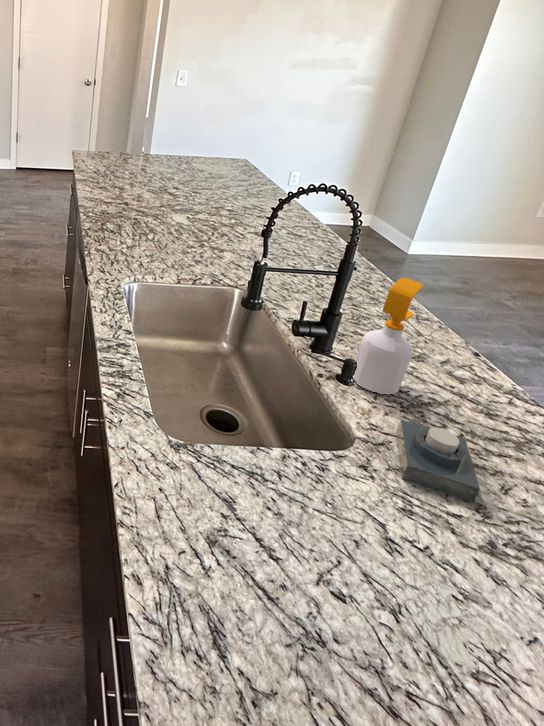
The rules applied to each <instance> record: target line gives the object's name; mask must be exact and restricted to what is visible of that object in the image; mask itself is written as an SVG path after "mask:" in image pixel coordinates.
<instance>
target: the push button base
mask: <svg viewBox="0 0 544 726" xmlns="http://www.w3.org/2000/svg"><path fill="white" fill-rule="evenodd" d="M431 428H432V427H429V426H425V425H422V424H418V423H415V422H411V421H408V420H406V419H405V420H404V419H401V418H400V420H399V423H398V426H397V428H396V430H395V437H396V436H397V438H396V446H397V445H398V446H397V453H398V460H399V468H400V477H401V480H403V481H406V482H409V483H412V484H416V485H418V486H420V487H424V488H427V489H430V490H432V491H436V492H439V493H441V494H445V495H448V496H451V497H454V498H457V499H460V500H463V501H466V502H468V503H472V504H473V503H474V502H475V500H476V499H477V496H478V494H479V492H480V490H481V488H480V487H481V486H480V484H479V480H478V477H477V474H476V471H475V468H474V464H473V463H474V462H473V460H472V457H471V453H470V450H469V447H468V443H467V439H466V437H462V436H459V435H455V436H456V437H457V438H458V439H459V442H460V443H459V445H458V448H457V450H456V452H455V453H454V454H445V453H442V452H439V451H437V450H435V449H434V448H432V447H430V446H429V445H428V444H427V443H426V441H425V438H426V436H427V433H428V431H429V429H431Z"/></svg>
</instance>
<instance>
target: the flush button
mask: <svg viewBox="0 0 544 726" xmlns="http://www.w3.org/2000/svg"><path fill="white" fill-rule="evenodd" d="M430 428H431V429H429V431H428V433H427V436H426V438H425V441H426V443H427V444H428V445H429V446H430V447H432V448H434V449H435V450H437V451H439V452H442V453H445V454H454V453H455V452H456V450H457V448H458V445H459V443H460V442H459V439H458V438H457V437H456V436H457V435H456V434H454V433H452V432H451V431H449V430H447V429H445V428H441V427H430Z"/></svg>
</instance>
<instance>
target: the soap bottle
mask: <svg viewBox="0 0 544 726" xmlns="http://www.w3.org/2000/svg"><path fill="white" fill-rule="evenodd" d="M423 288H424V284H422V283H421V282H418V281H415V280H413V279H410V278H407V277H400V278H399V279H398V280H397V281H396V282H395V283H394V284H392V285H391V287H390V289H389V291H388V293H387V296H386V299H385V301H384V304H383V308H382V312H383V313H385V314H388V315H389V317H390V318H391V319H387V320H386V321H385V322H384V325H383V328H382V329H374V330H370V331H367V332H366V333H365V334H364V335H363V337H362V340H361V343H360V346H359V349H358V352H357V354H356V358H355V361H356V362H357V369H356V371H355V377H354V379H355V381H356V382H357V383H358V384H360V385H361V386H363V387H364V388H367V389H369V390H371V391H372V392H377V393H380V394H393V395H395V394H397V393H398V392H399V391H400V388H401V385H402V383H403V380H404V377H405V375H406V372H407V369H408V367H409V365H410V362H411V360H412V357H413V346H412V345H411V343H410V341H409V340H408V339H406V337H404V336H403V335H402V334H403V331H404V329H405V325H404V324H402V322H404V321H405V322H406V321H407V320H409V319H411V318H412V317H414V315H415V314H414V312H412V311H410V310H409V308H410V306H411V304H412V301H413V299H414V298H415V296H416V295H417V294H418V293H419V292H420V291H421V290H422V289H423ZM355 361H354V362H355ZM372 392H371V393H372Z"/></svg>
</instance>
